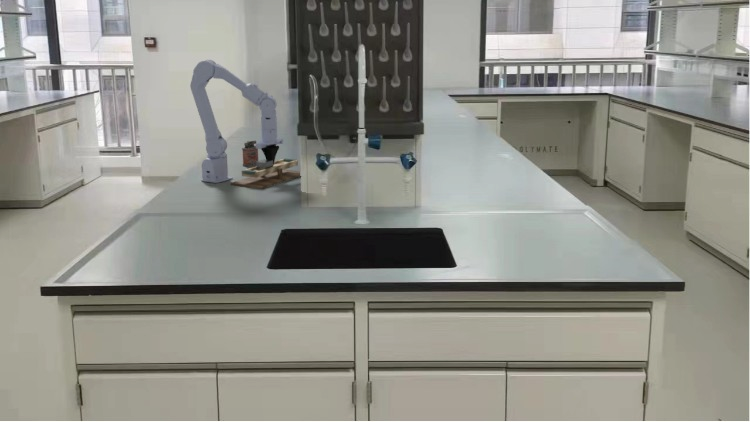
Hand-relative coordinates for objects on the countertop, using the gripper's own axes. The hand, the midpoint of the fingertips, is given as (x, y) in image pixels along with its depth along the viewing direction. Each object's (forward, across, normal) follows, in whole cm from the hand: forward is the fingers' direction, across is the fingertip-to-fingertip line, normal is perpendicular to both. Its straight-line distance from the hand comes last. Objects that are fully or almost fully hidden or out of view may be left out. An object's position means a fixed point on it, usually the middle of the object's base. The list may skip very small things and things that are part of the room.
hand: (270, 165), depth 270 cm
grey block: (+1, -4, 0) cm, 4 cm away
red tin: (+6, +20, +25) cm, 33 cm away
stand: (+5, 0, 0) cm, 5 cm away
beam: (+1, 0, 0) cm, 1 cm away
